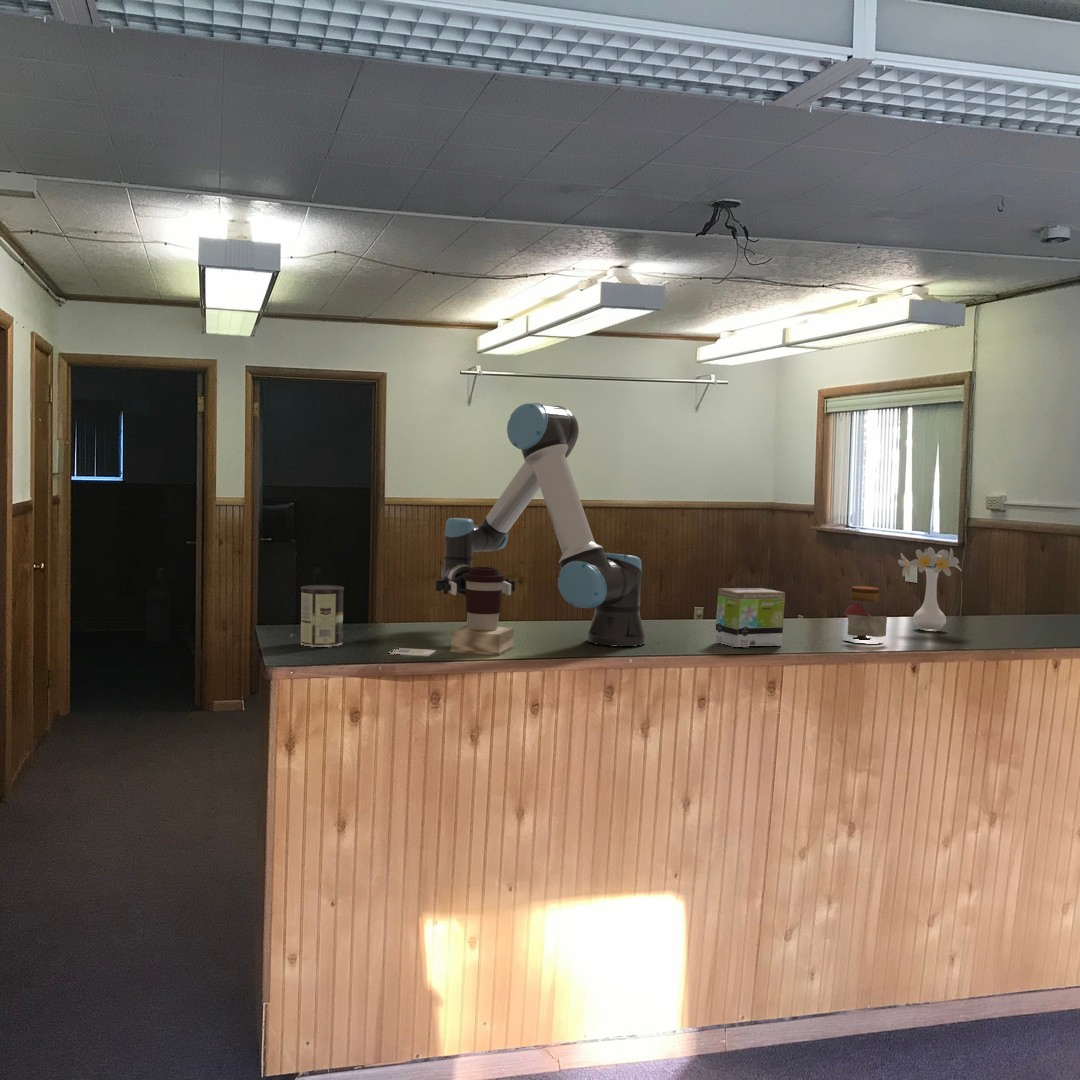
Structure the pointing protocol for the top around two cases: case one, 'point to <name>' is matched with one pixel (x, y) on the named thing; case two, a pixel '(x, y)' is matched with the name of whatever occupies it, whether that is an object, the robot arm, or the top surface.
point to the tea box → (749, 617)
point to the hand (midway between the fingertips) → (482, 589)
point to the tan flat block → (482, 641)
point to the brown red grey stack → (864, 615)
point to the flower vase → (930, 584)
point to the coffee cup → (483, 597)
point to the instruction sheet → (413, 652)
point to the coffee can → (322, 615)
